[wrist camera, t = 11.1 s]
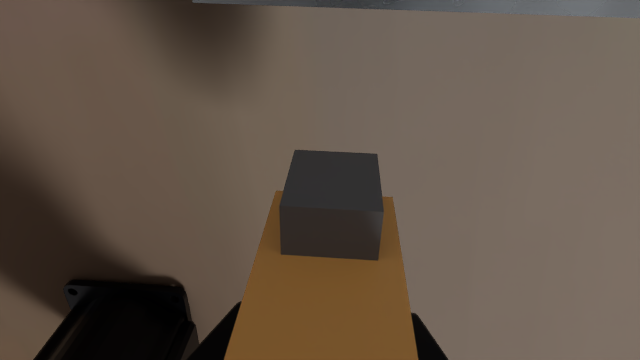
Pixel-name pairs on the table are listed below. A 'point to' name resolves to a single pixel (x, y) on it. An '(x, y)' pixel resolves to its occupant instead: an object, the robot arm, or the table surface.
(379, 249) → the orange bar
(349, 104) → the table surface
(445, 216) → the table surface
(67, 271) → the table surface
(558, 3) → the channel
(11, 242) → the table surface
